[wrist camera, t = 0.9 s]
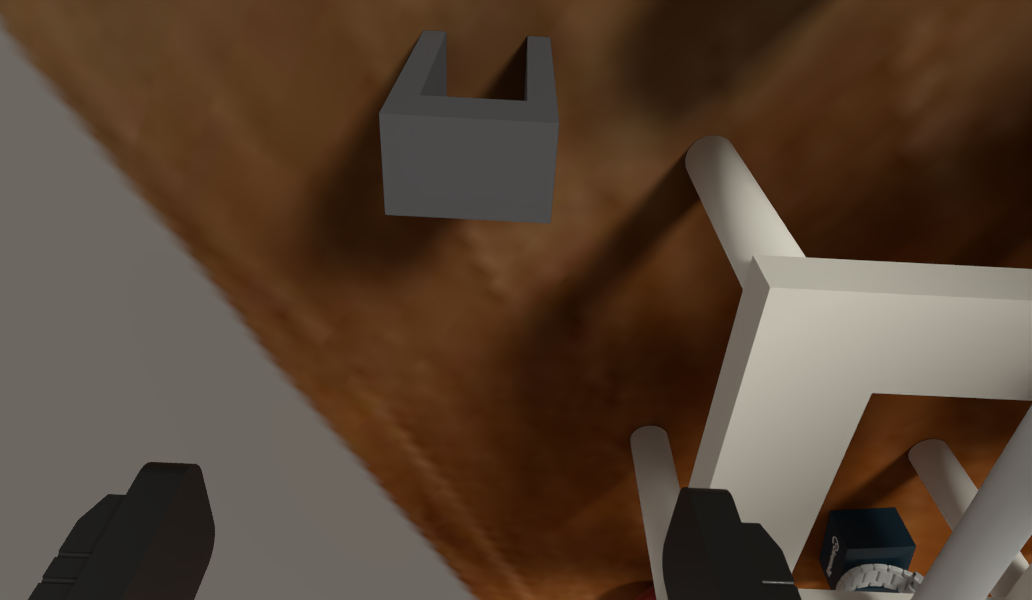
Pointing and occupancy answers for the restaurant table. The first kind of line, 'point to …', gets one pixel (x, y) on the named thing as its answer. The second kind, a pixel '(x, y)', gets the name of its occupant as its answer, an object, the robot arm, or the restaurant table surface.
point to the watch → (868, 552)
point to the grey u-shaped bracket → (469, 142)
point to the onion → (647, 594)
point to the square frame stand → (850, 390)
